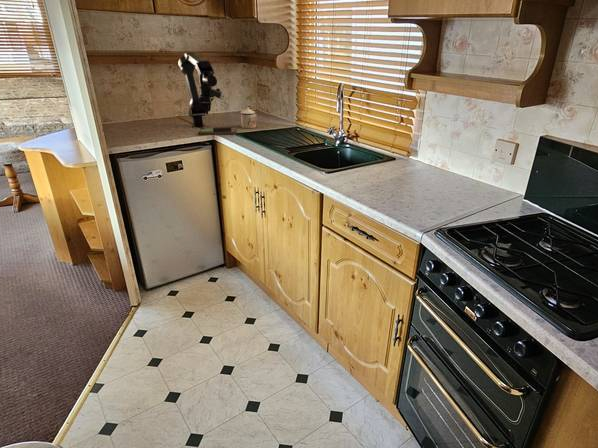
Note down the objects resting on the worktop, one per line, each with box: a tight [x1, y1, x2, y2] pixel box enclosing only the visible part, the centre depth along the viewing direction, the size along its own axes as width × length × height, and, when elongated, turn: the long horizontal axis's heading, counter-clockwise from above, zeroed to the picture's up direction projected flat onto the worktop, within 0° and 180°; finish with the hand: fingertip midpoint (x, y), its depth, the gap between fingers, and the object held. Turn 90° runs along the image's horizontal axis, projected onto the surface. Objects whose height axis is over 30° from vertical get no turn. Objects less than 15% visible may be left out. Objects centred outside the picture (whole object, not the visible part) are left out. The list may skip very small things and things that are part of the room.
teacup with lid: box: [240, 107, 258, 129], centre depth 248 cm, size 12×9×12 cm
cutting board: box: [197, 128, 237, 136], centre depth 233 cm, size 9×20×2 cm, turn 98°
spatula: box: [199, 126, 232, 132], centre depth 231 cm, size 17×6×2 cm, turn 98°
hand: (208, 112), depth 233 cm, fingers open, 9 cm apart
